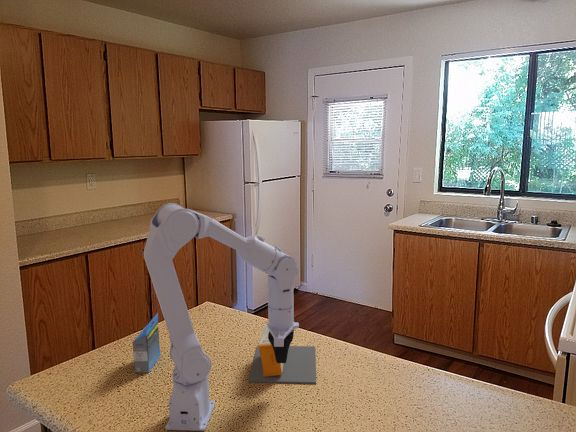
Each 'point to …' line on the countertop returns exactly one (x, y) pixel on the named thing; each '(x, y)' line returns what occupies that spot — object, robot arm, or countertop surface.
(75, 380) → the countertop surface
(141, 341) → the label tape cartridge
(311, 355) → the mat
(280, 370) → the supplement box
